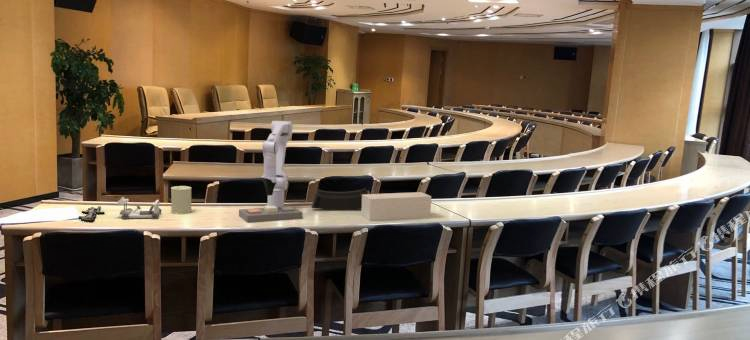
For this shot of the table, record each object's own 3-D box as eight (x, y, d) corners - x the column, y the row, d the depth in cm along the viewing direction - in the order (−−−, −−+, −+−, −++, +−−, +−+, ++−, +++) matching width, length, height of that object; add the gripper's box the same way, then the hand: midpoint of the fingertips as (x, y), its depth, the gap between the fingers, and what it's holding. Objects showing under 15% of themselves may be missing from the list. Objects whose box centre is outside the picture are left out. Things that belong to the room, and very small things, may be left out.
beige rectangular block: (420, 213, 305) (421, 192, 303) (430, 217, 295) (431, 196, 293) (361, 216, 292) (362, 194, 291) (369, 221, 282) (370, 198, 281)
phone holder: (114, 198, 263) (119, 193, 275) (115, 220, 265) (119, 214, 276) (158, 198, 268) (161, 193, 279) (158, 220, 269) (161, 214, 280)
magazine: (307, 192, 297) (365, 175, 301) (307, 191, 300) (364, 174, 304) (316, 225, 300) (374, 207, 305) (316, 223, 303) (372, 206, 308)
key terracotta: (246, 216, 279) (247, 209, 278) (257, 215, 281) (257, 209, 281) (250, 218, 274) (250, 212, 274) (260, 217, 277) (260, 211, 276)
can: (166, 212, 282) (166, 187, 280) (178, 208, 290) (178, 184, 289) (184, 214, 279) (183, 189, 277) (195, 210, 288) (195, 186, 286)
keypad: (238, 215, 282) (238, 209, 281) (291, 212, 294) (291, 205, 293) (247, 222, 269) (247, 216, 269) (302, 218, 282) (302, 212, 281)
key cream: (263, 212, 282) (263, 206, 282) (274, 211, 285) (274, 205, 284) (267, 214, 278) (267, 208, 278) (277, 214, 280) (277, 207, 280)
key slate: (280, 213, 286) (280, 207, 286) (290, 212, 289) (290, 206, 288) (283, 216, 282) (283, 209, 281) (293, 215, 284) (293, 209, 284)
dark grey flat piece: (102, 219, 260) (76, 220, 256) (102, 223, 260) (76, 224, 256) (106, 206, 285) (82, 206, 281) (106, 209, 285) (82, 210, 282)
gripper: (257, 164, 287) (256, 192, 289) (266, 169, 275) (266, 198, 277) (271, 164, 291) (270, 191, 293) (281, 168, 278) (280, 197, 280)
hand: (269, 195), depth 285 cm, fingers closed
